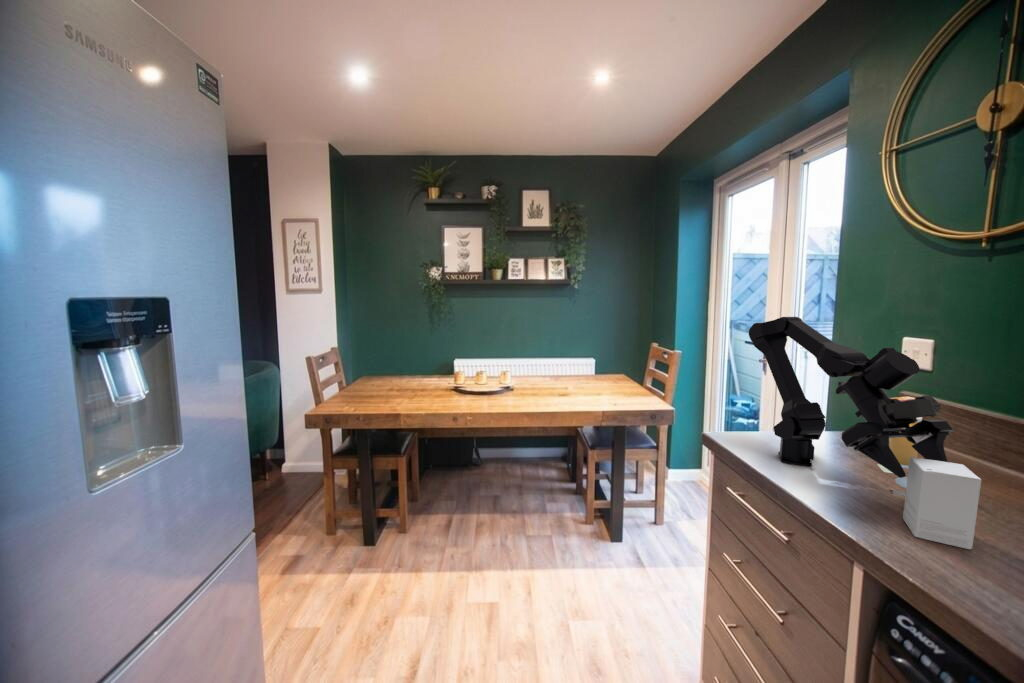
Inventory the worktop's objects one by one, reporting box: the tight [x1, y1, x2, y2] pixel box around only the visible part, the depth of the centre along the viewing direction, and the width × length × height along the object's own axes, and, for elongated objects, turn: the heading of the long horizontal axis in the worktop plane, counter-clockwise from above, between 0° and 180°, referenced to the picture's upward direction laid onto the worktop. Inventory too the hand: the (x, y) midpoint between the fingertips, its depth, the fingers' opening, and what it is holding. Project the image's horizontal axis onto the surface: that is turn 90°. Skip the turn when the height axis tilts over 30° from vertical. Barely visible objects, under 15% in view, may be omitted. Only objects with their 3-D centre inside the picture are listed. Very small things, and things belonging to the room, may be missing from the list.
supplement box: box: [902, 457, 982, 550], centre depth 72 cm, size 7×7×13 cm
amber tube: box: [890, 417, 923, 466], centre depth 99 cm, size 5×5×12 cm
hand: (925, 475), depth 74 cm, fingers open, 9 cm apart
